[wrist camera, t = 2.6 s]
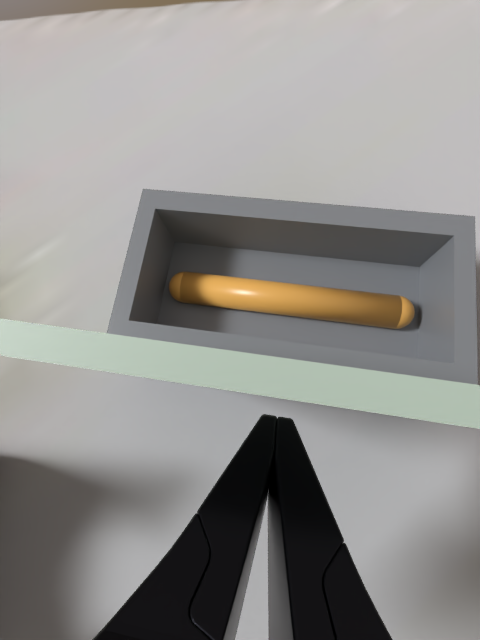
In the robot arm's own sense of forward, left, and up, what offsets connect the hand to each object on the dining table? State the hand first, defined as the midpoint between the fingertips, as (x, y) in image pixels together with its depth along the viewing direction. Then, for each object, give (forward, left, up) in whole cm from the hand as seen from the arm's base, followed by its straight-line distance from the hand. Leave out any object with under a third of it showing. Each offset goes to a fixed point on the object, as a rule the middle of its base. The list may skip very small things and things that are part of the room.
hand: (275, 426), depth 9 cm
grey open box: (+6, -4, -11) cm, 13 cm away
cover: (+2, -1, -2) cm, 2 cm away
